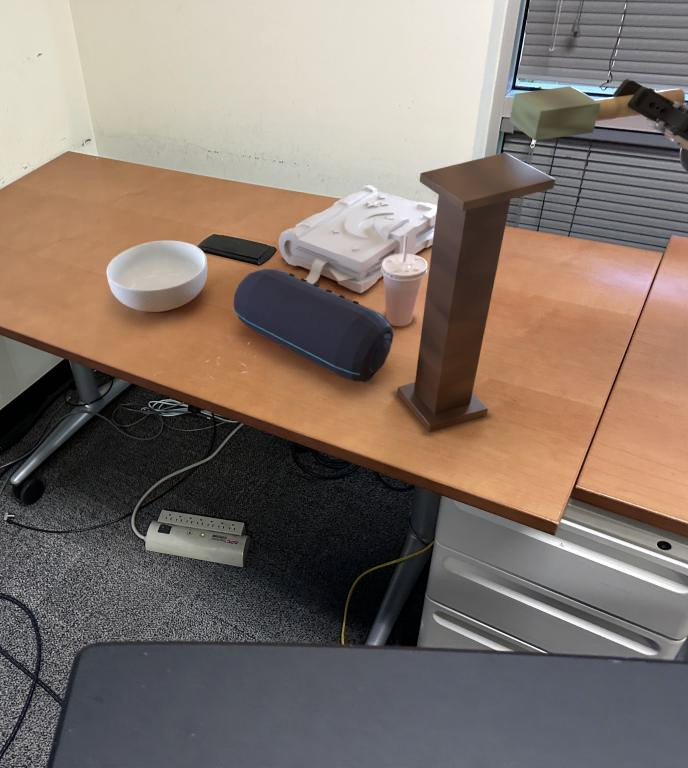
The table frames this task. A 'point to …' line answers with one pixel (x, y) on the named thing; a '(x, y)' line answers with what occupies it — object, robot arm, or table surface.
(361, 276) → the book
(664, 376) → the table surface
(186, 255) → the cereal bowl
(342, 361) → the portable speaker
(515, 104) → the green wooden mallet
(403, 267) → the smoothie
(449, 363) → the stand
